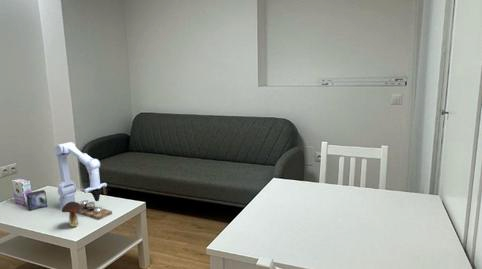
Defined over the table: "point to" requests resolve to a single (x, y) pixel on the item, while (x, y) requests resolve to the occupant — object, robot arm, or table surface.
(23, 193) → the candy box
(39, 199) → the small box
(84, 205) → the button
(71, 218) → the decorative mushroom
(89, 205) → the button middle
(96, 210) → the button
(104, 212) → the button panel
